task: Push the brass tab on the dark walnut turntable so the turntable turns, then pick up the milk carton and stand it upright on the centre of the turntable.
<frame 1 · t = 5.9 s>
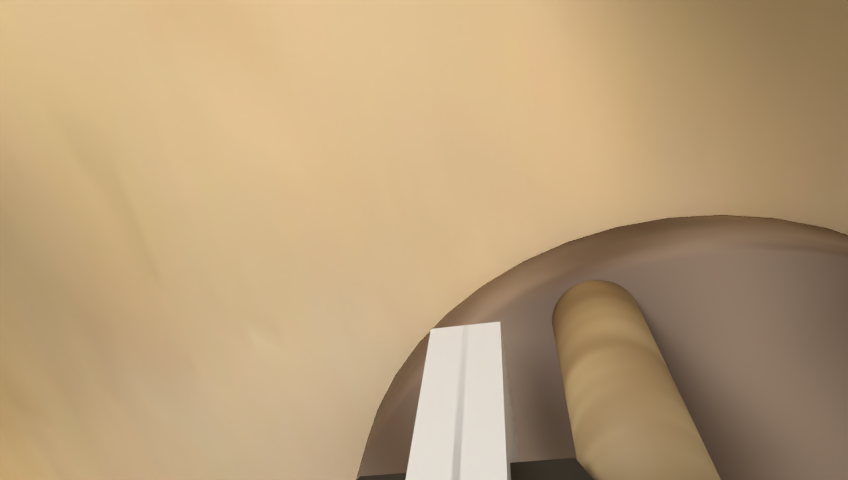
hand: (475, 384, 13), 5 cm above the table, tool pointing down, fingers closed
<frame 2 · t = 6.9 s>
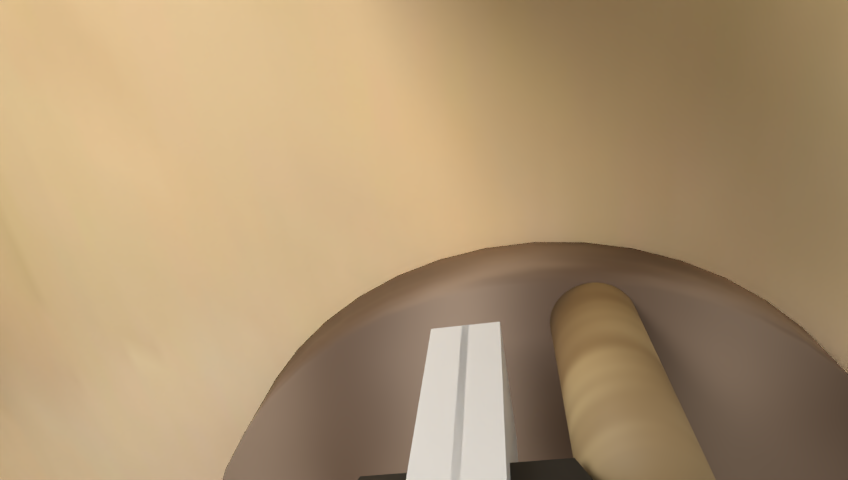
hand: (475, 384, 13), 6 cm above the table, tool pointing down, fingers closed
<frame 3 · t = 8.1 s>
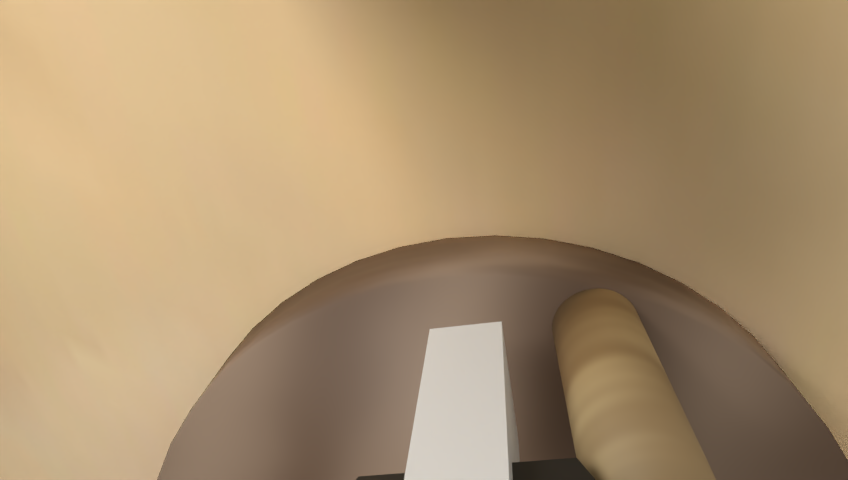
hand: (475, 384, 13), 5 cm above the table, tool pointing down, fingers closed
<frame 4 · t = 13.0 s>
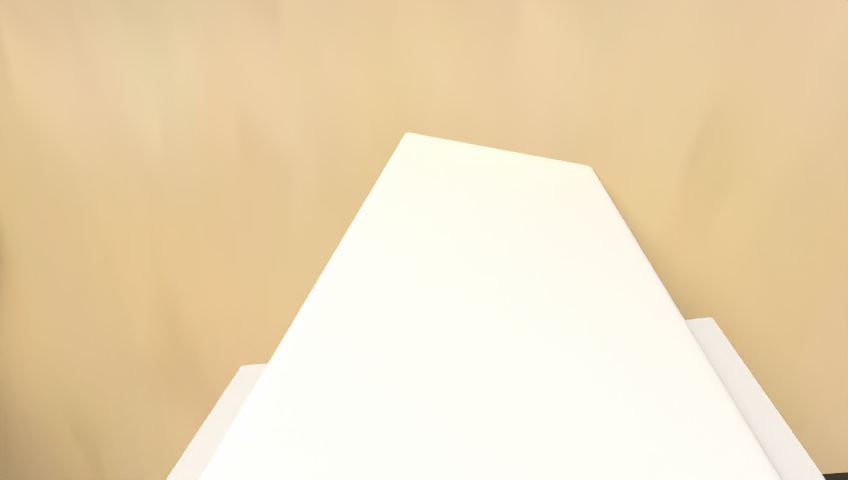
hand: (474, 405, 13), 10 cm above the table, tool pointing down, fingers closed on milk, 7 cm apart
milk: (480, 233, 22), on the table, touching gripper
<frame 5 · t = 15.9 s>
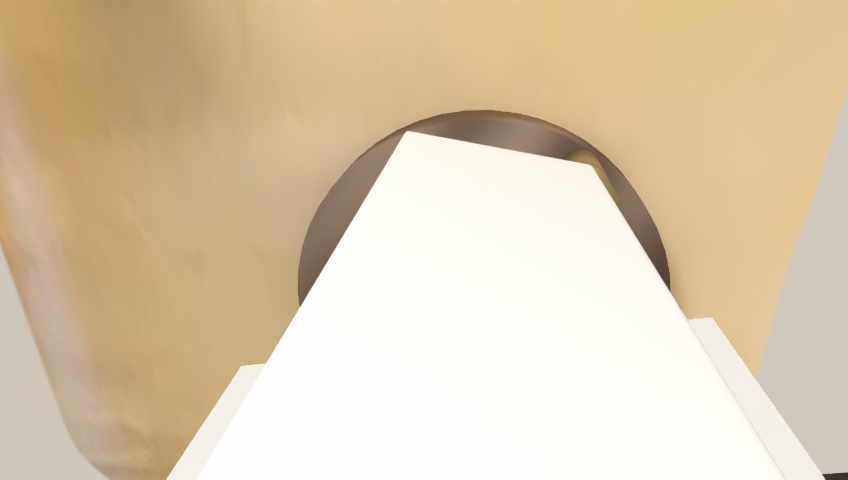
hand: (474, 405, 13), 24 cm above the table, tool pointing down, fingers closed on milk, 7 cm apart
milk: (480, 232, 22), point 15 cm above the table, touching gripper
turntable: (477, 318, 34), point 5 cm above the table, hinge at -39.8°
when the fingers open (15 cm above the table, at t = 18.9 s): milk drops 2 cm, resting on turntable.
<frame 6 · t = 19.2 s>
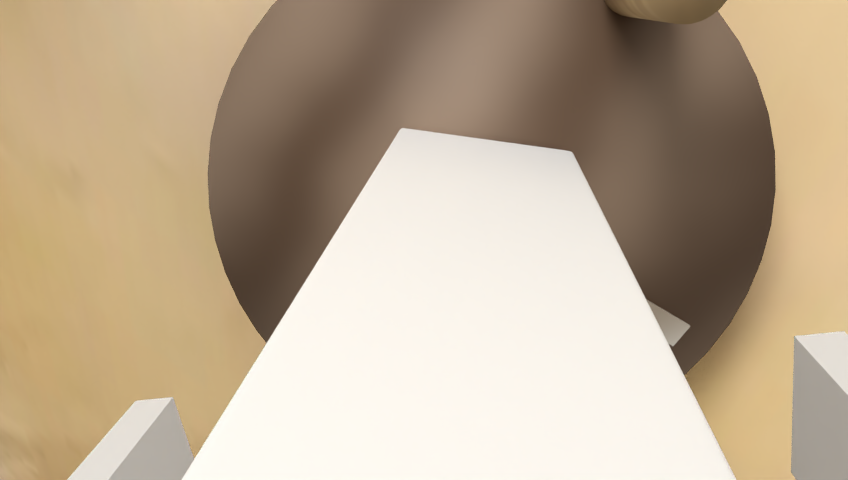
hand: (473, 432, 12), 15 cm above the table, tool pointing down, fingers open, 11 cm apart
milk: (473, 217, 24), point 3 cm above the table, touching turntable
turntable: (479, 231, 22), point 5 cm above the table, hinge at -39.8°, touching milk
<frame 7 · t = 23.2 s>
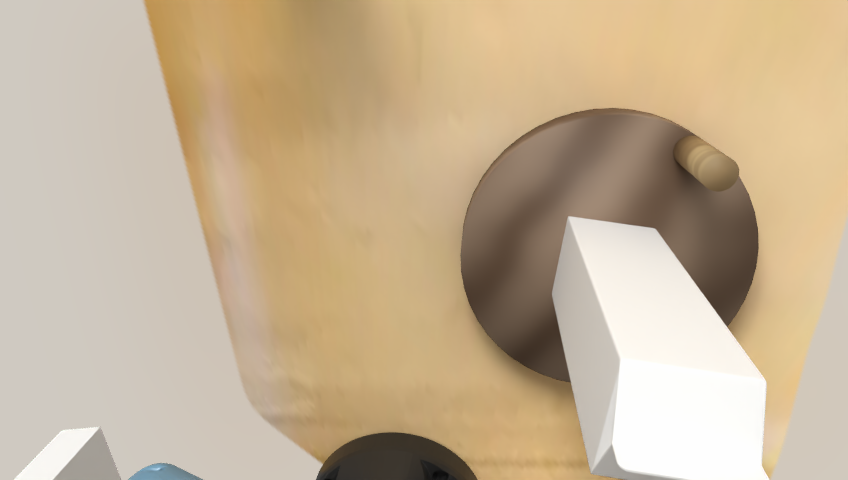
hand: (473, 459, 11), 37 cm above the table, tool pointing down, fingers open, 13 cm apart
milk: (601, 260, 46), point 3 cm above the table, touching turntable
turntable: (609, 269, 44), point 5 cm above the table, hinge at -39.8°, touching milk
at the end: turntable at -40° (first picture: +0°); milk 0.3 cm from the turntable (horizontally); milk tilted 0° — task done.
